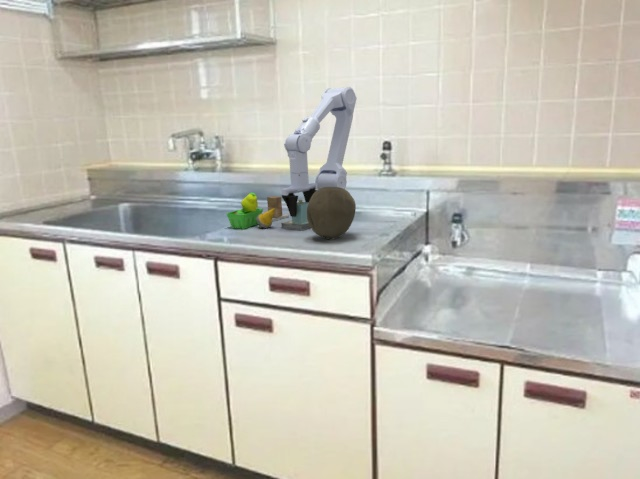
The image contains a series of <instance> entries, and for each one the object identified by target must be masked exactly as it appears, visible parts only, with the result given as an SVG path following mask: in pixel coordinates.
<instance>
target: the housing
mask: <svg viewBox="0 0 640 479" xmlns="http://www.w3.org/2000/svg"><path fill="white" fill-rule="evenodd" d="M308 204H309V202H305V201H303V199H298V201H297V215H296V217H292V216H291V221H292V222H296V223H305V222H308V219H307V207H308Z"/></svg>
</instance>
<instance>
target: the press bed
mask: <svg viewBox="0 0 640 479" xmlns="http://www.w3.org/2000/svg"><path fill="white" fill-rule="evenodd" d="M280 224H281V228H282V229H286V230H287V229H288V230H294V231H305V230H309V229H312V228H311V227H310V225H309V223H308V222H305V223H296V222H292V220H287V221H285V222H281V223H280Z"/></svg>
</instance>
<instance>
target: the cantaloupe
mask: <svg viewBox="0 0 640 479" xmlns="http://www.w3.org/2000/svg"><path fill="white" fill-rule="evenodd" d="M316 190H317V191H316V192H315V193H314V194H313V195H312V197H311V199H310V201H309V204H308V207H307V219H308V223H309V225H310V227H311V228H310V229H311V230H312V231H313V232H314V234H316V235H317V236H319V237H321V238H323V239H327V240H335V239H338V238H340V237H341V236H343V235H345V233H347V231H349V229H350V227H351V226H352V224H353V221H354V219H355V215H356V211H357V210H356V209H357V208H356V205H357V204H356V201H355V198H354V197H353V196H352V195H351V193H350V192H349V190H347V189H346V188H345V189H343V188H340V187H323V188H321V189H316Z"/></svg>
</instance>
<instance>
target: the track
mask: <svg viewBox="0 0 640 479" xmlns="http://www.w3.org/2000/svg"><path fill="white" fill-rule="evenodd" d="M287 218H288V219H289V218H290V214H285V213H284V214H283V213H282V216H279V217H273V218H272V222H275V221H279V220H284V219H287Z"/></svg>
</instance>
